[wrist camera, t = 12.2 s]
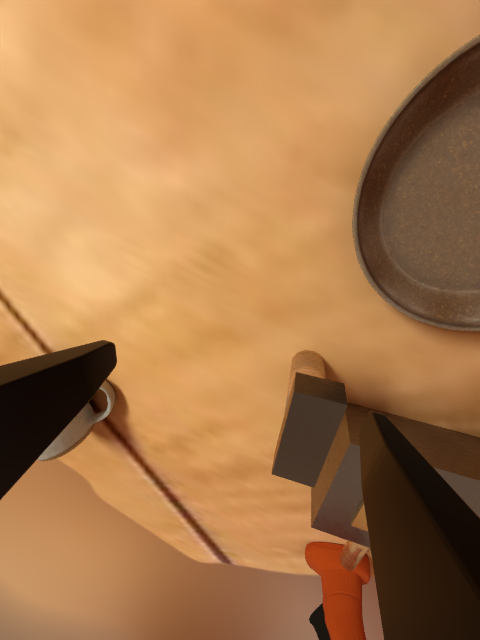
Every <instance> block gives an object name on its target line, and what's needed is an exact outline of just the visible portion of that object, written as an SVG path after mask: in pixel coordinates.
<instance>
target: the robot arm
mask: <svg viewBox="0 0 480 640" xmlns="http://www.w3.org/2000/svg"><path fill="white" fill-rule="evenodd" d="M116 363H117V357H116V349H115V345H114V343H112V342H109V341H105V340H101V341H97V342H93V343H89V344H85V345H81V346H77V347H73V348H69V349H65V350H61V351H57V352H53V353H49V354H45V355H41V356H37V357H33V358H29V359H25V360H22V361H18V362H14V363H10V364H6V365H2V366H0V500H1V499H2V497H3V496H4V495H5V494H6V493H7V492H8V491H9V490H10V489H11V488H12V486H13V485H14V484H15V483H16V482H17V481H18V480H19V479H20V478H21V477H22V475H23V474H24V473H25V472H26V471H27V470H28V469H29V468H30V467H31V465H32V464H33V463H34V462H35V461H36V460H37V459H38V458H39V457H40V455H41V454H42V453H43V452H44V451H45V450H46V449H47V448H48V447H49V446H50V444H51V443H52V442H53V441H54V440H55V439H56V438H57V437H58V436H59V434H60V433H61V432H62V431H63V430H64V429H65V428H66V427H67V426H68V424H69V423H70V422H71V421H72V420H73V419H74V418H75V417H76V416H77V415H78V413H79V412H80V411H81V410H82V409H83V408H84V407H85V406H86V404H87V403H88V402H89V401H90V400H91V399H92V397H93V396H94V395H95V393H96V392H97V391H98V389H99V388H100V387H101V385H102V384H103V383H104V381H105V380H106V379H107V377H108V376H109V375H110V373H111V372H112V371H113V369H114V368H115V366H116ZM359 438H360V465H361V486H362V494H363V501H364V508H365V514H366V521H367V528H368V534H369V541H370V548H371V554H372V561H373V568H374V574H375V581H376V588H377V594H378V600H379V607H380V614H381V620H382V628H383V634H384V640H480V518H479V517H478V516H477V514H476V513H475V512H474V511H473V510H472V509H471V508H470V507H469V506H468V505H467V504H466V502H465V501H464V500H463V499H462V498H461V497H460V496H459V495H458V494H457V493H456V492H455V490H454V489H453V488H452V487H451V486H450V485H449V484H448V483H447V482H446V481H445V480H444V478H443V477H442V476H441V475H440V474H439V473H438V472H437V471H436V470H435V469H434V468H433V466H432V465H431V464H430V463H429V462H428V461H427V460H426V459H425V458H424V457H423V456H422V455H421V453H420V452H419V451H418V450H417V449H416V448H415V447H414V446H413V445H412V444H411V443H410V441H409V440H408V439H407V438H406V437H405V436H404V435H403V434H402V433H401V432H400V431H399V429H398V428H397V427H396V426H395V425H394V424H393V423H392V422H391V421H390V420H389V419H388V417H387V416H386V415H384V414H381V413H378V412H374V411H371V412H369V413H368V415H367V417H366V419H365V421H364V423H363V425H362V427H361V430H360V436H359Z"/></svg>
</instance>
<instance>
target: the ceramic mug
mask: <svg viewBox="0 0 480 640" xmlns="http://www.w3.org/2000/svg"><path fill="white" fill-rule="evenodd" d="M99 389H101V390H103V391H104V392H105V393H106V395H107V402H108V406H107V409H105V410H104V411H102V412H100V413H98V414H95V413H94V411H93V408H92V406H91V405H90V403H89V402H88V403H87V404H86V406H85V407H84V408H83V409H82V410H81V411H80V412H79V413H78V415H77V416H76V417H75V418H74V419H73V420H72V421H71V422H70V423H69V424H68V426H67V427H66V428H65V429H64V430H63V431H62V432H61V433H60V434H59V436H58V437H57V438H56V439H55V440H54V441H53V442H52V443H51V444H50V446H49V447H48V448H47V449H46V450H45V451H44V452H43V453H42V454H41V455H40V457H39V458H38V460H40V461H48V460H53V459H56V458H58V457H61V456H63V455H65V454H66V453H68V452H70V451H71V450H73V449H74V448H75V447H77V446H78V445H79V444H80V443H81V442H82V441H83V440H84V439H85V438H86V437H87V436H88V435H89V434H90V432H91V431H92V429H93V427H94V425H95V423H97V422H99V421H101V420H103V419H104V418H105V417H107V416H108V415H109V413H110V412H111V410H112V408H113V406H114V404H115V399H116V396H115V392H114V390H113V388H112V386H111V385H110V384H109V383H108V382H107V381H106V380H105V381H104V383H103V384H102V385H101V387H100V388H99Z"/></svg>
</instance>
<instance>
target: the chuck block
mask: <svg viewBox="0 0 480 640" xmlns="http://www.w3.org/2000/svg"><path fill="white" fill-rule="evenodd" d="M347 405H348V406H347V408H346V411H345V413H344V415H343V418H342V420H341V423H340V425H339V428H338V430H337V433H336V435H335V438H334V440H333V443H332V445H331V448H330V450H329V453H328V455H327V457H326V460H325V462H324V465H323V467H322V470H321V472H320V475H319V477H318V480H317V482H316V485H315V487H314V488H313V487H312V488H311V527H312V528H315V529H318V530H320V531H323V532H326V533H329V534H332V535H334V536H337V537H340V538H343V539H346V540H348V541H347V543H346V544H345V546H344V548H343V549H342V551H341V553H340V555H339V559H340V562H341V564H342V566H343V567H344V568H345V569H346V570H348V571H353V570H354V569H355V568H356V567H357V565H358V564H359V562H360V561H361V559H362V558H363V557H364V555H365V554H366V552H367V551H368V550H369V548H370V541H369V534H368V528H367V521H366V514H365V508H364V501H363V494H362V486H361V465H360V438H359V436H360V430H361V427H362V425H363V423H364V421H365V419H366V417H367V415H368V413H369V412H371V411H374V412H378V413H381V414H384V415H386V416H387V417H388V419H389V420H390V421H391V422H392V423H393V424H394V425H395V426H396V427H397V428H398V429H399V431H400V432H401V433H402V434H403V435H404V436H405V437H406V438H407V439H408V440H409V441H410V443H411V444H412V445H413V446H414V447H415V448H416V449H417V450H418V451H419V452H420V453H421V455H422V456H423V457H424V458H425V459H426V460H427V461H428V462H429V463H430V464H431V465H432V466H433V468H434V469H435V470H436V471H437V472H438V473H439V474H440V475H441V476H442V477H443V478H444V480H445V481H446V482H447V483H448V484H449V485H450V486H451V487H452V488H453V489H454V490H455V492H456V493H457V494H458V495H459V496H460V497H461V498H462V499H463V500H464V501H465V502H466V504H467V505H468V506H469V507H470V508H471V509H472V510H473V511H474V512H475V513H476V514H477V516H478V517H479V518H480V438H478V437H475V436H471V435H467V434H463V433H460V432H456V431H452V430H448V429H444V428H441V427H437V426H433V425H429V424H426V423H422V422H418V421H414V420H411V419H407V418H403V417H399V416H395V415H392V414H388V413H384V412H380V411H377V410H373V409H369V408H365V407H362V406H358V405H354V404H350V403H347Z"/></svg>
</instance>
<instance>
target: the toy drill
mask: <svg viewBox="0 0 480 640" xmlns="http://www.w3.org/2000/svg"><path fill="white" fill-rule="evenodd" d="M344 546H345V545H340V544H334V543H326V542H312V543H309V544H307V546H306V549H305V559H306V561H307V564H308V565H309V567H310V568H311V569H313V570H314V571H315V572H316V573H318V574H319V575H320V576H321V580H322V591H323V603H322V604H321V605H320V606H319V607H318V608H317V609H316V610H315V611H314V612H313V613H312V614H311V616H310V619H309V620H310V623H311V624H312V625H313V627H314V628H315V631H316V633H317V635H318V638H319V640H366V637H365V632H364V625H363V619H362V585H364V584H367V583H368V582H369V580H370V564H369V559H368V556H367V555H366V554H365V555H364V557H363V558H362V559H361V561H360V562H359V564H358V565H357V567H356V568H355V569H354V570H353V571H348V570H346V569H345V568H344V567H343V566H342V564H341V562H340V559H339V555H340V553H341V551H342V549H343V548H344Z"/></svg>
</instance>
